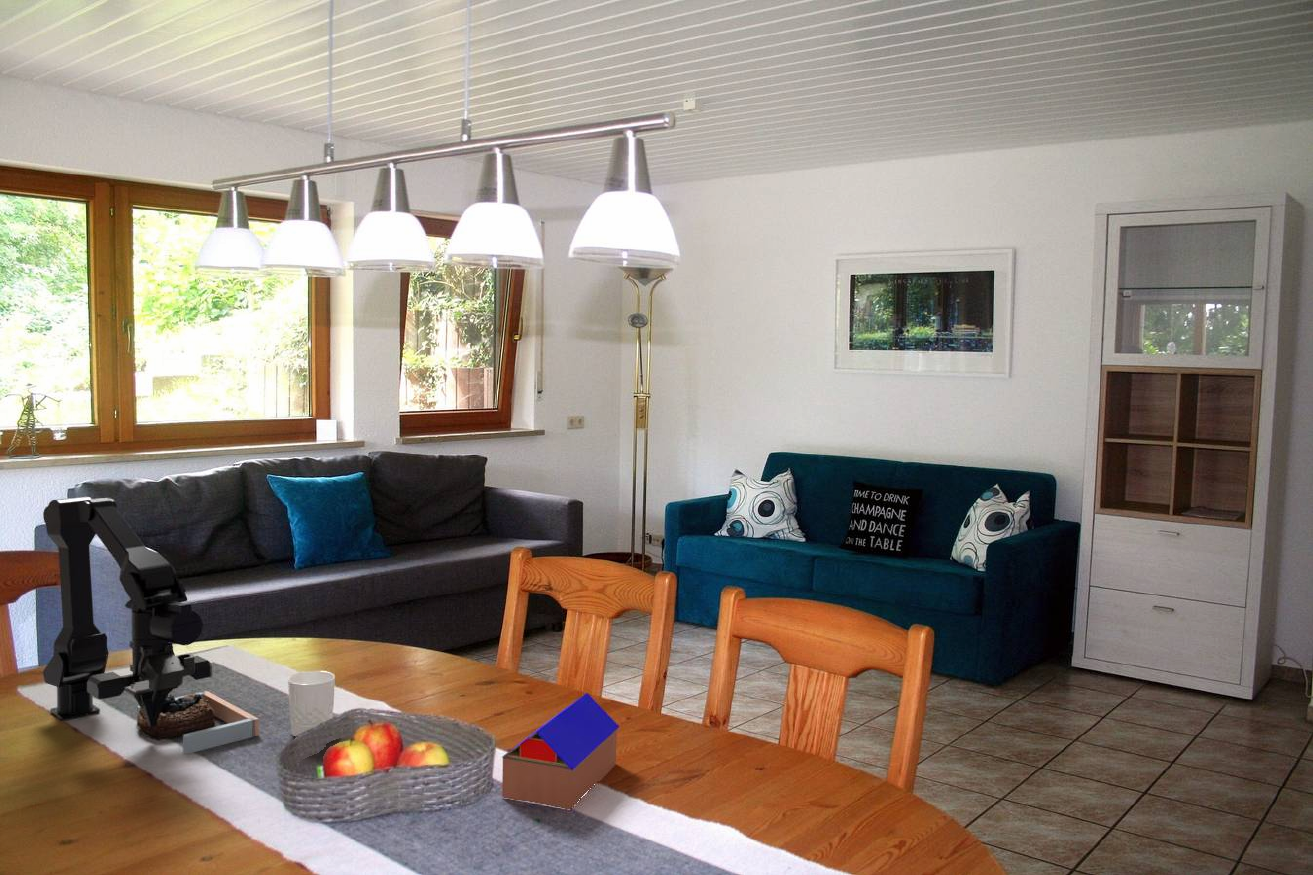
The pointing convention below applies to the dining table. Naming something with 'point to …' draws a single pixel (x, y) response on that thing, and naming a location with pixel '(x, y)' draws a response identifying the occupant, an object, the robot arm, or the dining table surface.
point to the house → (562, 756)
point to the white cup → (310, 699)
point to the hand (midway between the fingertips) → (151, 725)
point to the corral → (235, 730)
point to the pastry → (179, 717)
